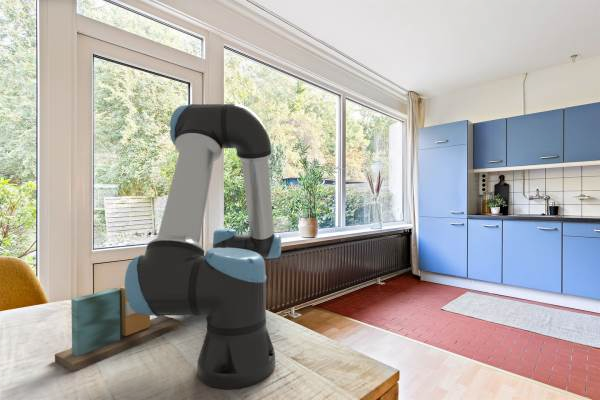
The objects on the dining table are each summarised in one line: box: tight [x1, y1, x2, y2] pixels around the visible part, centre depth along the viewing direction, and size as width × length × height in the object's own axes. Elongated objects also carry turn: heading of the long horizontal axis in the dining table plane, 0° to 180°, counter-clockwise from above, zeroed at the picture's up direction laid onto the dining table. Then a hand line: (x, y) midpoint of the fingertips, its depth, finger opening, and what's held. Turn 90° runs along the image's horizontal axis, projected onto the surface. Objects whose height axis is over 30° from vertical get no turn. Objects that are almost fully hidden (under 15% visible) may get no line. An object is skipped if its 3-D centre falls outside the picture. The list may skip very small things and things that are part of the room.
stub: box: [119, 285, 151, 336], centre depth 75 cm, size 6×2×11 cm, turn 148°
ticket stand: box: [54, 287, 182, 373], centre depth 73 cm, size 25×8×13 cm, turn 148°
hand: (122, 308), depth 72 cm, fingers closed on stub, 2 cm apart
